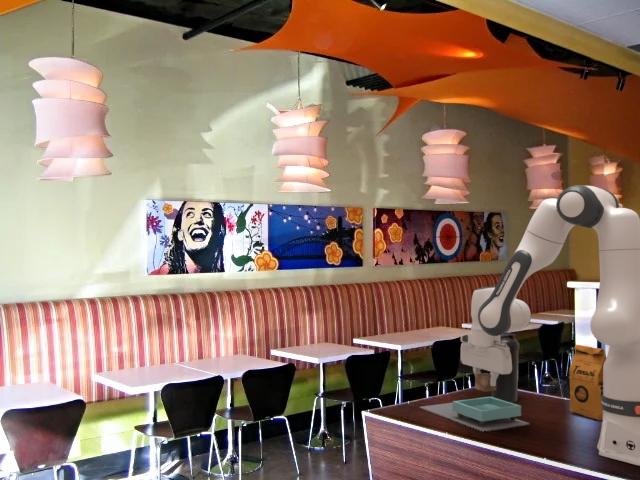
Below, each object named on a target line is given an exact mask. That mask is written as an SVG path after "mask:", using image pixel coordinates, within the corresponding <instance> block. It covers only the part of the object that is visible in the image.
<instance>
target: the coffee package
mask: <svg viewBox="0 0 640 480" xmlns="http://www.w3.org/2000/svg"><path fill="white" fill-rule="evenodd" d="M573 349H574V350H575V351H574V355H573V358H572V360H571V364H570V366H569V395H570V397H569V405H570V407H569V411H570V412H572V413H575V414H577V415H581V416H584V417H586V418H589V419H594V420H596V421H602V419H603V409H602V408H601V406H602V403H601V401H602V395H603V365H604V362H605V361H606V358H607V355H606V353H605V349H604V348H601V347H600V348H598V347H593V346H592V347H591V346H587V345H581V344H576V345H575V346H574V348H573Z"/></svg>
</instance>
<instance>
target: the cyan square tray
mask: <svg viewBox="0 0 640 480" xmlns="http://www.w3.org/2000/svg"><path fill="white" fill-rule="evenodd" d="M452 403H453V411H454V412H457V413H458V417H459V418H461V417H463V415H465V416H468V417H471V418H473V419H476V420H479V424H480V425H484V424H485V421H489V420H496V419H502V418H509V417H510V420H512V421H513V420H515V419H517V417H521V416H522V405H520V404H516V403H514V402H507V401H503V400H500V399H497V398H493V397H492V396H484V397H483V396H482V397H475V398H469V399H461V400H460V399H459V400H452Z"/></svg>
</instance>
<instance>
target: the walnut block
mask: <svg viewBox="0 0 640 480" xmlns="http://www.w3.org/2000/svg"><path fill="white" fill-rule="evenodd" d="M491 376H492V375H490V372H489V373H488V372H482V373H481V374H474V389H475V390H477V391H481V392H485V393H486V392H492V391H494V390H496V385H495V386H490V385H488V380H490V378H491Z"/></svg>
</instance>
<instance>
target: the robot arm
mask: <svg viewBox="0 0 640 480" xmlns="http://www.w3.org/2000/svg"><path fill="white" fill-rule="evenodd" d="M575 226H578V227H581V228H582V227H583V228H586V229H593V230H594V231H595V232H596V233H597V238H598V253H599V254H598V256H599V257H598V258H599V286H598V294H597V298H596V299H597V300H596V304H595V305H596V306H595V311H594V313H593V314H592V317H591V318H590V319H591V320H590V326H589V327H590V332H591V333H592V335H593V337H594V338H595V339H596V340H597V341H598V342H599V343H601V344H603V345H607V346H609V348H608V351H607V355H606V361H605V362H604V365H603V395H602V401H601V403H602V406H601V408H602V409H603V419H602V420H601V427H600V434H599V439H598V441H597V445H596V449H597V450H598V455H599V456H602V457H605V458H609V459H613V460H617V461H621V462H624V463H626V464H627V463H628V464H632V465H635V466H639V467H640V217H639V214H638V213H637V211H635V210H633V209H630V208H626V207H620V202H619V200H618V198H617V196H616V195H615V194H614V193H613V192H611V191H609V190H607V189H605V188H600V187H597V186H593V185H583V184H576V185H573V186H569V187H567V188H565V189H564V190H562V191H561V193H560V194H559V196H558V197H557V198H553V197H552V198H546V199H544V200H543V201H542V202H540V204H539V205H538V206H537V208H536V210H535V211H534V213H533V215H532V217H531V218H530V220H529V223H528V225H527V226H526V228H525V232H524V234H523V236H522V238H521V241H520V242H519V244H518V245H517V246H518V247H517V248H516V250H515V251H514V253H513V254H512V256H511V258H510V259H509V260H508V262H507V264H506V266H505V268H504V269H503V271H502V274H501V275H500V277H499V279H498V281H497V284H496V285H495V286H485V287H480V288H479V287H478V288H477V289H475V290H474V291H473V293H472V297H471V305H470V306H471V307H470V308H471V309H470V316H471V319H472V324H471V327H470V332H467V333H465V334H461V335H460V342H461V345H460V362H461V363H462V365H466V366H469V367H472V371H473V374H474V375H475V374H481V371H482V370H484V371H488V372H489V374H490V375H492V376H491V378H490V380H488V385H490V386H495V385H496V379H497V377H498V376H499V374H510V373H511V371H512V360H511V353H510V349H509V347H508V346H507V344H506V343H502V342H500V335H502V334H507V333H512V332H513V333H514V332H517V331H520V330H523V329H526V328H527V327H528V326H529V324H530V323H531V319H532V312H531V308H530V306H529V305H528V304H527V303H526V302H525V301H524V300H522V299H518V298H517V296H518V293H519V291H520V290H521V288H522V287H523V285H524V282H525V281H527V280H528V278H529V277H530V276H531V275H533V274H535V273H536V272H538V271H540V270H541V269H544V268H546V267H548V266H550V265H552V264H553V263H554V261H556V259H557V257H558V256H559V255H560V253H561V251H562V249H563V247H564V245H565V242H566V239H567V237H568V235H569V233H570V231H571V230H572V228H574V227H575ZM505 346H506V347H505Z"/></svg>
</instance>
